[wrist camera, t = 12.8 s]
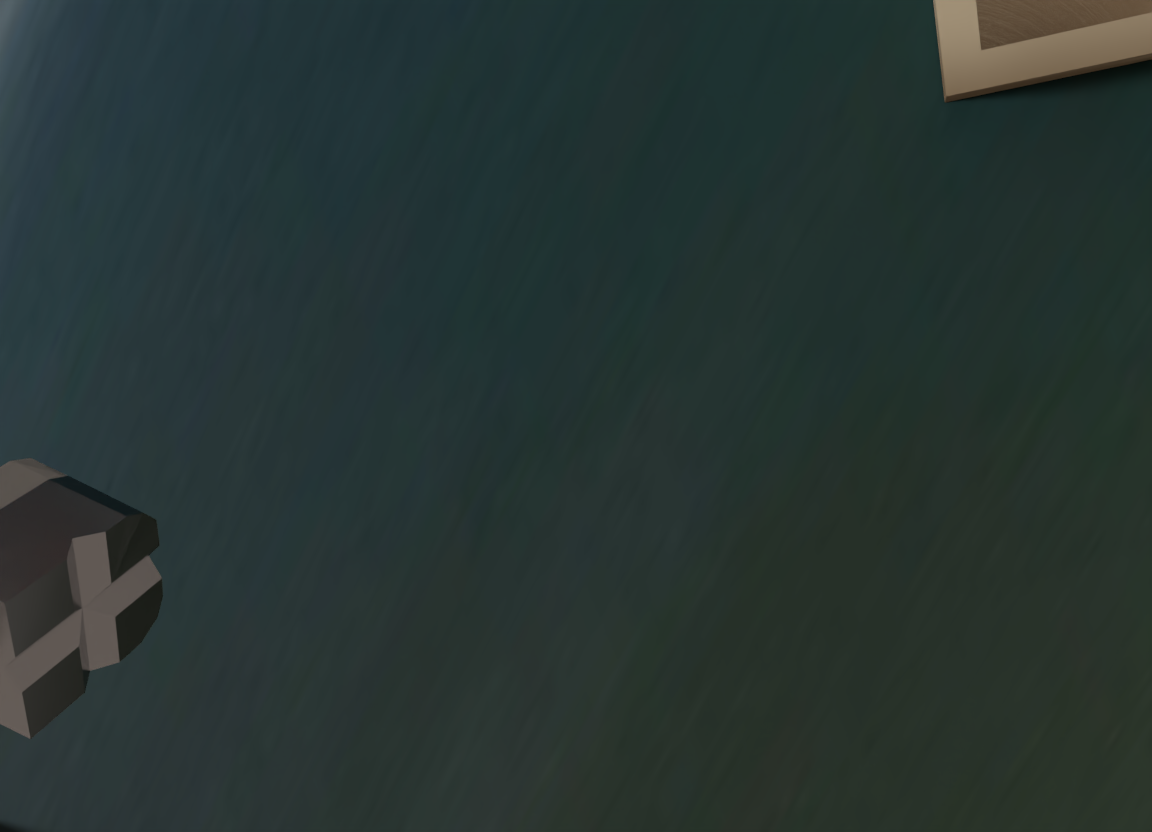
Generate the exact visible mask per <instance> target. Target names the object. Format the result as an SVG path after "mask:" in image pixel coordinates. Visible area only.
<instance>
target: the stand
mask: <svg viewBox="0 0 1152 832" xmlns="http://www.w3.org/2000/svg"><path fill="white" fill-rule="evenodd" d="M933 3H934V11H935V20H936V29H937V38H938V46H939V55H940V64H941V73H942V82H943V90H944V99H945V102H950V101H955V100H959V99H964V98H969V97H974V96H979V95H983V94H988V93H993V92H998V91H1003V90H1007V89H1012V88H1017V87H1022V86H1027V85H1031V84H1036V83H1041V82H1046V81H1050V80H1055V79H1060V78H1065V77H1070V76H1074V75H1079V74H1084V73H1089V72H1094V71H1098V70H1103V69H1108V68H1113V67H1118V66H1122V65H1127V64H1132V63H1137V62H1142V61H1146V60H1151V59H1152V0H933Z"/></svg>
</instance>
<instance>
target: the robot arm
mask: <svg viewBox="0 0 1152 832" xmlns="http://www.w3.org/2000/svg"><path fill="white" fill-rule="evenodd" d="M158 546H159V537H158V529H157V522H156V520H155V519H153V518H152V517H150V516H148V515H146V514H144V513H142V512H140V511H138V510H136V509H134V508H132V507H130V506H128V505H126V504H124V503H122V502H120V501H118V500H116V499H114V498H112V497H110V496H108V495H106V494H104V493H102V492H100V491H98V490H96V489H94V488H92V487H90V486H88V485H86V484H84V483H82V482H80V481H78V480H76V479H74V478H72V477H70V476H67V475H65V474H63V473H61V472H59V471H57V470H55V469H53V468H50V467H48V466H46V465H44V464H42V463H40V462H38V461H36V460H34V459H32V458H28V459H21V460H14V461H10V462H8V463H6V464H5V465H3V466H1V467H0V724H2V725H4V726H6V727H8V728H10V729H12V730H14V731H16V732H18V733H20V734H22V735H24V736H26V737H28V738H30V739H31V738H32V737H34V736H35V735H36V734H37V733H38V732H39V731H40V730H42V729H43V728H44V727H45V726H46V725H47V724H49V723H50V722H51V721H52V720H53V719H54V718H56V717H57V716H58V715H59V714H60V713H61V712H63V711H64V710H65V709H66V708H67V707H68V706H70V705H71V704H72V703H73V702H74V701H75V700H76V699H78V698H79V697H80V696H81V695H82V694H83V693H85V690H86V686H87V681H88V677H89V673H90V671H91V670H94V669H98V668H101V667H105V666H108V665H111V664H115V663H118V662H120V661H121V660H122V659H124V658H125V657H126V656H127V655H128V654H129V653H130V652H131V651H132V650H134V649H135V648H136V647H137V646H138V645H139V644H140V643H141V642H142V641H143V639H144V637H145V636H146V634H147V633H148V631H149V630H150V628H151V626H152V625H153V623H154V622H155V620H156V619H157V617H158V613H159V609H160V605H161V601H162V597H163V591H162V578H161V576H160V574H159V573H158V571H157V569H156V568H155V566H154V564H153V563H152V561H151V559H150V557H149V555H150V554H151V553H152V552H153V551H154V550H155V549H156V548H157V547H158Z"/></svg>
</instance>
